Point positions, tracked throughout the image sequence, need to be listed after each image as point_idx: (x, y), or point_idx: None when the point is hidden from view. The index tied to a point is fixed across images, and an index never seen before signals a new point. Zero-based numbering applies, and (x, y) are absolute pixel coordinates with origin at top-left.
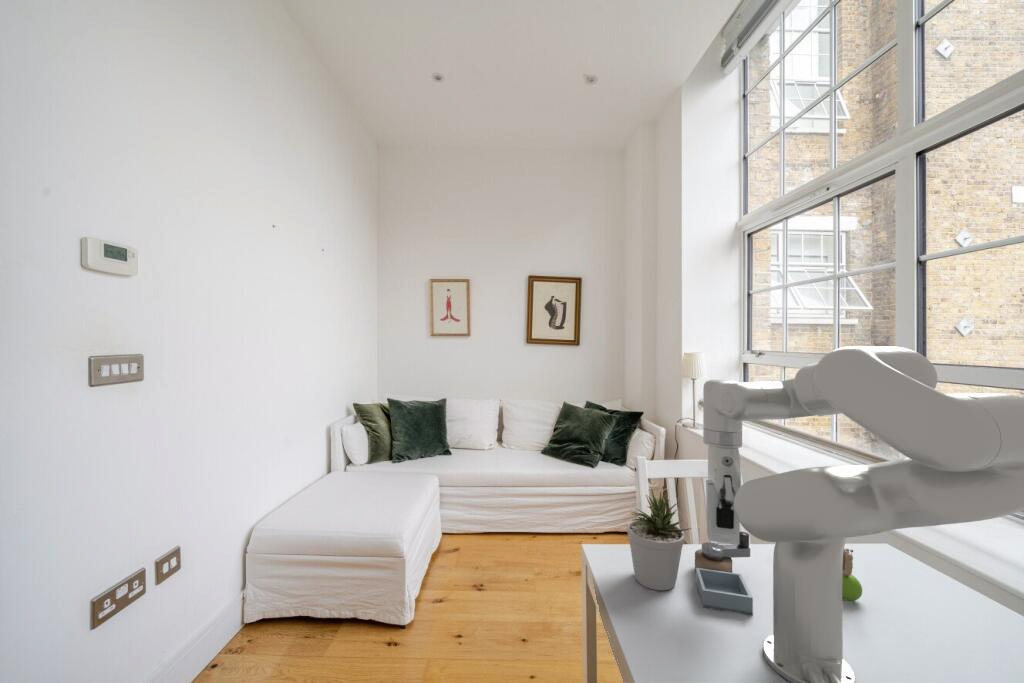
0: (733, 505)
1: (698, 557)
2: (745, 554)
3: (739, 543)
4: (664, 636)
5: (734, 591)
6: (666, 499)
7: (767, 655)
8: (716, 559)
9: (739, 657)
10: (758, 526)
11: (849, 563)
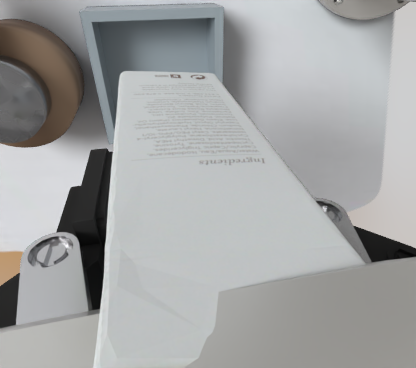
0: (350, 224)
1: (48, 138)
2: None
3: (215, 75)
4: (310, 178)
5: (123, 33)
6: None
7: (375, 16)
8: (46, 90)
9: (353, 68)
10: None
11: None
